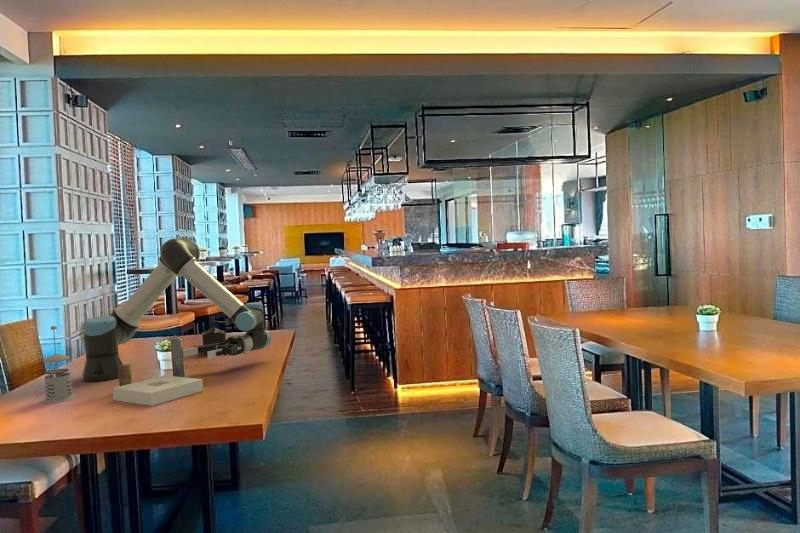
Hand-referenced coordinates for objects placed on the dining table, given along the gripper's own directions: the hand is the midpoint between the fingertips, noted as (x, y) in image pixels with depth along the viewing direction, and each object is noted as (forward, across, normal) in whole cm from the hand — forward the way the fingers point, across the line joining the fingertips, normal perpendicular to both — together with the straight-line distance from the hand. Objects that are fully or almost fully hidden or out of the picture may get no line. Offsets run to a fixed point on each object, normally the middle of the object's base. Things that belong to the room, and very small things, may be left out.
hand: (195, 354), depth 238 cm
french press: (+40, +23, -9) cm, 47 cm away
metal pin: (+8, 0, -9) cm, 12 cm away
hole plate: (+24, -10, -9) cm, 27 cm away
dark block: (-44, +37, -9) cm, 59 cm away
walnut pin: (+24, +8, -9) cm, 27 cm away
